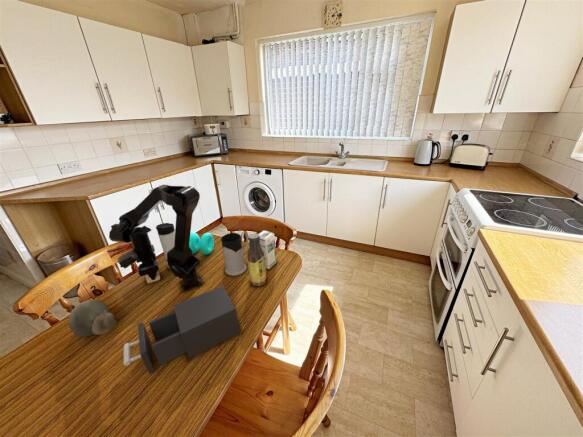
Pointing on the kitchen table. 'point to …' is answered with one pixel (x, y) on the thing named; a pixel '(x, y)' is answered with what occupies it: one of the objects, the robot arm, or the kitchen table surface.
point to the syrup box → (268, 248)
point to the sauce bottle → (256, 261)
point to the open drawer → (158, 342)
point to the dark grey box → (206, 320)
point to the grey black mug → (234, 253)
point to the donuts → (201, 243)
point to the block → (153, 280)
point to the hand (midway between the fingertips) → (153, 276)
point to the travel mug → (166, 237)
